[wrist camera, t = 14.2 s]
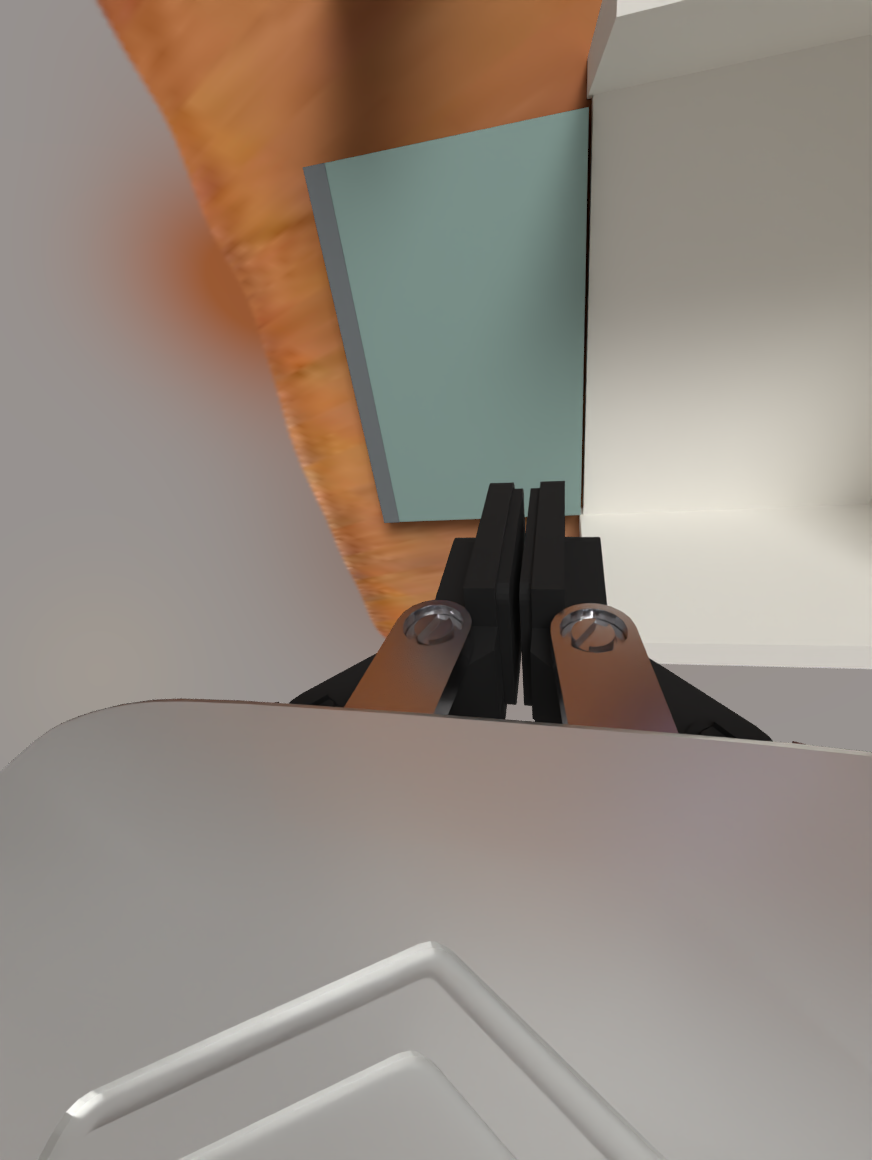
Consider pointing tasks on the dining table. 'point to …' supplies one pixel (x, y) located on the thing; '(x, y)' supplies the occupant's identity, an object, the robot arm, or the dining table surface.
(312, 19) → the dining table surface
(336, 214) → the panel
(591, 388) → the teal front storage box
